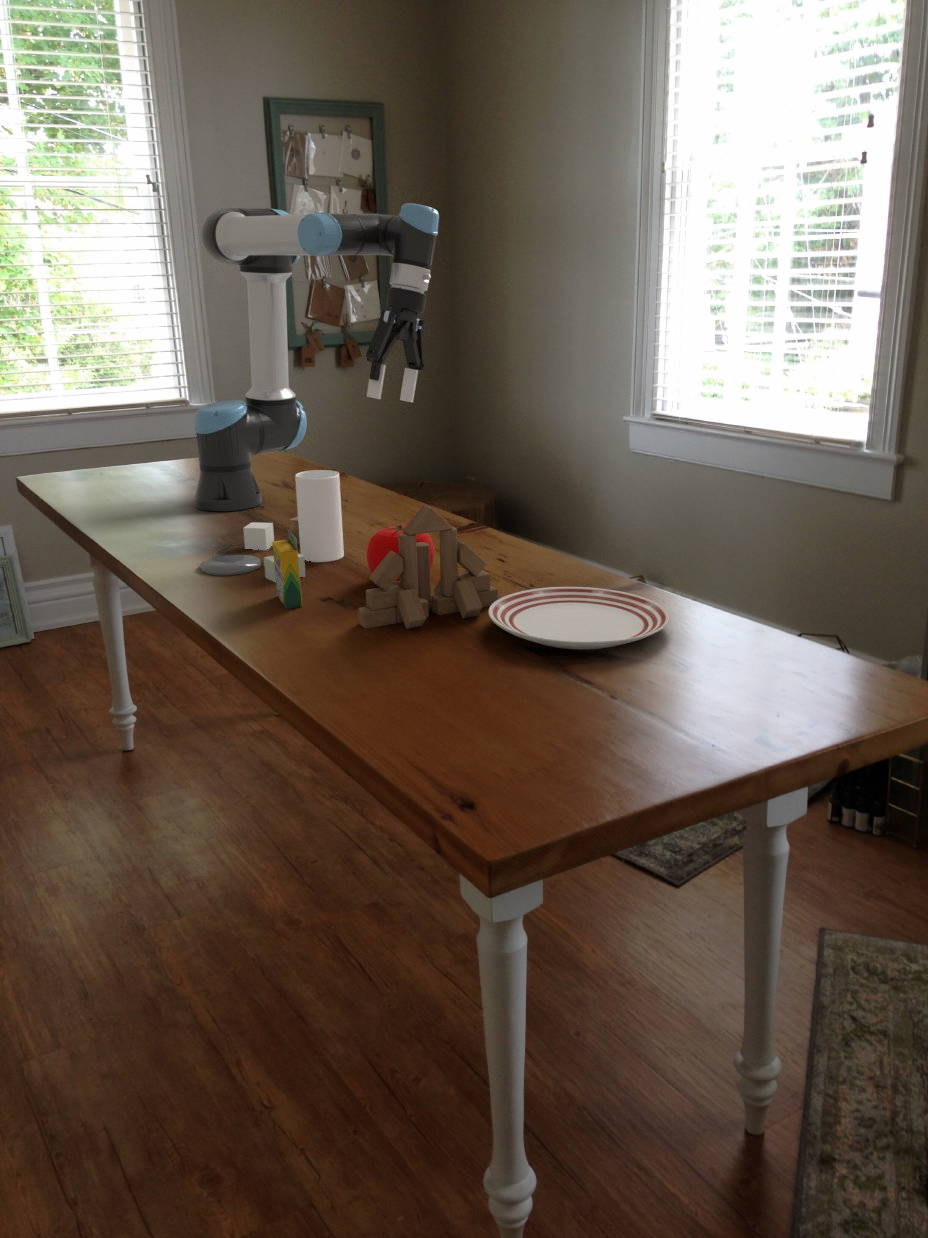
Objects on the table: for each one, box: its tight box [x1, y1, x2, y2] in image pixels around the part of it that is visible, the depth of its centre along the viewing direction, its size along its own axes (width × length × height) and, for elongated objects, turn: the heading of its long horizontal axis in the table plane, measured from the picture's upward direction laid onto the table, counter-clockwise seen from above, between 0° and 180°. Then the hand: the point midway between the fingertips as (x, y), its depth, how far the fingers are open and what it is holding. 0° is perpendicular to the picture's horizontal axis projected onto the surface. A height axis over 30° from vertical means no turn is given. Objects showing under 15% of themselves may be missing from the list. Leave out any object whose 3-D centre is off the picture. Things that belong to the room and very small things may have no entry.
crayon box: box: [272, 528, 303, 610], centre depth 172 cm, size 7×3×12 cm, turn 21°
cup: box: [294, 469, 345, 563], centre depth 198 cm, size 8×8×16 cm
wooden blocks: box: [357, 504, 499, 630], centre depth 164 cm, size 25×12×18 cm, turn 118°
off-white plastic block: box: [242, 521, 275, 551], centre depth 207 cm, size 4×4×4 cm
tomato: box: [366, 524, 436, 582], centre depth 182 cm, size 12×12×10 cm
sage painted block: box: [263, 553, 307, 584], centre depth 187 cm, size 4×6×4 cm, turn 125°
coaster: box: [199, 554, 262, 577], centre depth 194 cm, size 11×11×1 cm
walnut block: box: [288, 515, 300, 545], centre depth 210 cm, size 5×5×5 cm
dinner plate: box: [487, 586, 671, 650], centre depth 159 cm, size 27×27×3 cm
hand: (390, 399), depth 207 cm, fingers open, 13 cm apart
